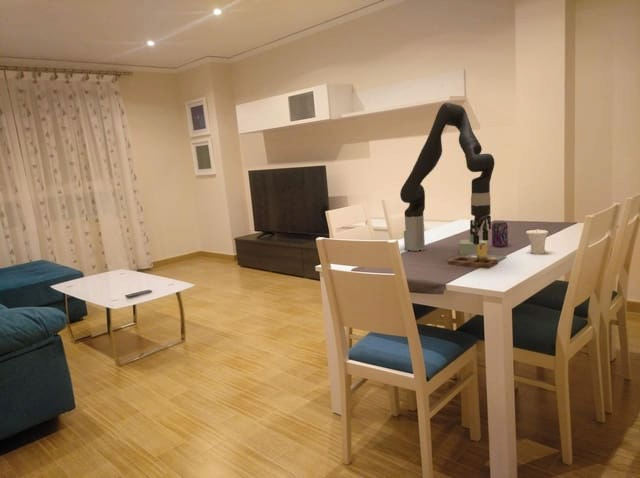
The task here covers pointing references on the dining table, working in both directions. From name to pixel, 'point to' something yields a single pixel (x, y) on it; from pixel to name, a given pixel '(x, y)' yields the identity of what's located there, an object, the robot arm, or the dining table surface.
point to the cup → (537, 240)
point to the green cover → (469, 246)
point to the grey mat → (488, 257)
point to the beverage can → (499, 234)
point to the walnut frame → (472, 262)
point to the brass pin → (482, 253)
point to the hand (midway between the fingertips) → (480, 242)
